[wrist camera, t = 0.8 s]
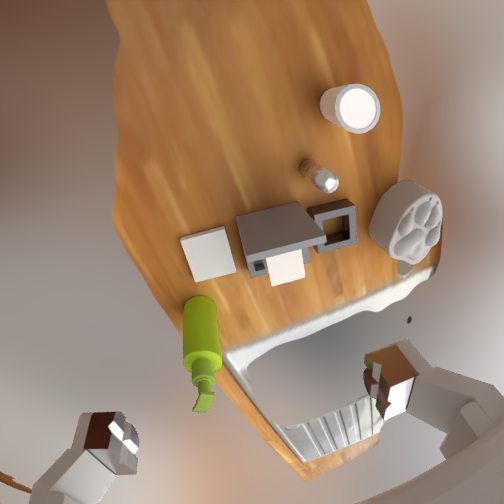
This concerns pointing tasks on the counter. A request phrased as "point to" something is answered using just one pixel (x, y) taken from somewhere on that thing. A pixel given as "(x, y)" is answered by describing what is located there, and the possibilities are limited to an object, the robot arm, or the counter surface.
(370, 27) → the counter surface
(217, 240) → the plate
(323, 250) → the rod bracket
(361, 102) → the white faceted tapered cup
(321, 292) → the counter surface
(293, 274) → the block
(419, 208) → the lumpy-topped squat cylinder
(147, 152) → the counter surface
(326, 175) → the rod
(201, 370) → the soap dispenser
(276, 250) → the grey device stand
